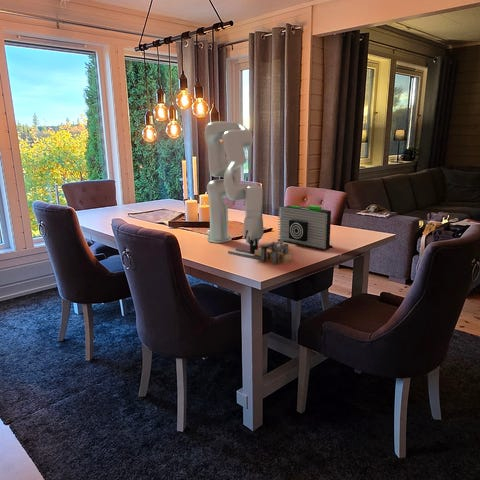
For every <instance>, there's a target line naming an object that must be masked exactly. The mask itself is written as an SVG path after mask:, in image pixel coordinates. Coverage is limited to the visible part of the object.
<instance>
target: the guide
mask: <svg viewBox="0 0 480 480" xmlns="http://www.w3.org/2000/svg"><path fill="white" fill-rule="evenodd" d="M236 251H237V252H236ZM227 253H228V254H229V255H233V256H234V255H235V256H240V257H243V258H244V257H246V258H249V259H254V260H259V261H261V257H256V256H255V255H250V254H252V253H250V250H249V249H244V248H243V249H242V248H237V247H236V248H235V251H230V250H227ZM246 253H248V254H246Z"/></svg>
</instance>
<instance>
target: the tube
mask: <svg viewBox="0 0 480 480" xmlns="http://www.w3.org/2000/svg"><path fill="white" fill-rule="evenodd" d="M254 256H256V257H261V247H258V248H257V249H255V254H254ZM267 261H269V262H273V250H271V249H270V248H268V249H267ZM289 262H291V253H290V252H288V253H286V252H281V251H278V264H286V265H287V263H288V264H289Z"/></svg>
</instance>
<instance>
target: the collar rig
mask: <svg viewBox="0 0 480 480" xmlns="http://www.w3.org/2000/svg"><path fill="white" fill-rule="evenodd" d="M277 245H279V246H277ZM260 248H261V260H260V262H262V263H265V262H267V261H268V260H267V249H270V248H271V249H270V250H273V261H272V265H278V264H279V262H278V251H281V252H286V253H289V243H284V242H283V240H280V241H278V240H277V241H272V242H270V243H267V244H265V245H262V246H261V247H260Z"/></svg>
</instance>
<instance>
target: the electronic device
mask: <svg viewBox="0 0 480 480" xmlns="http://www.w3.org/2000/svg"><path fill="white" fill-rule="evenodd" d="M277 210H278V214H277V215H278V218H279V219H277V220H278V221H277V225H278V229H277V230H278V231H277V232H278V234H277V238H278V239H277V242H278V241H280V240H283V243H284V244H291V245H295V246H300V247H303V248H304V247H305V248H307V249H308V248H309V249H313V250H318V251H323V252H326V251H329V250H331V249H333V246H334V245H331V223H332V210H328V209H323V208H322V206H319V205H311V204H310V205H308V206H307V207H306V206H299V205H291V204H290V205H286V206H283V205H282V206H281V205H279V206H278V209H277ZM330 248H331V249H330Z"/></svg>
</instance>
